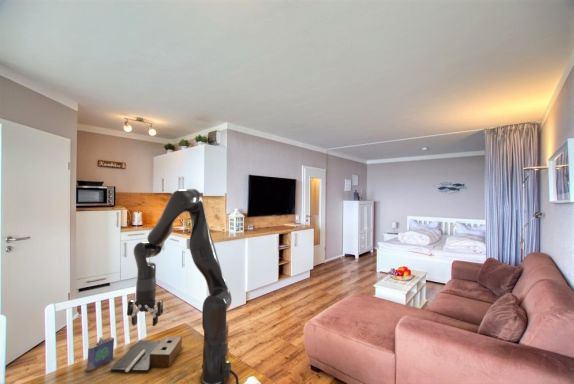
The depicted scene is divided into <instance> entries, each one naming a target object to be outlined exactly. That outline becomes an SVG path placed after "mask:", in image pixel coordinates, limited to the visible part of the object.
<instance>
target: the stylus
mask: <svg viewBox="0 0 574 384" xmlns="http://www.w3.org/2000/svg"><path fill="white" fill-rule="evenodd" d="M145 351H146V350H145V349H144V350H142V351H141V353H140V354H139V355H138V356H137V357H136V358H135V359H134V360H133V362H132V363H131V364H130V365H129V366H128V367H127V368H126V369H125V372H124V373H129V372H128V371H129V370H130V369H131V368H132V367H133V366H134V364H135V363H136V362H137V361H138V360H139V359H140V358H141V356H142V355H143V354H144V353H145Z"/></svg>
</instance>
